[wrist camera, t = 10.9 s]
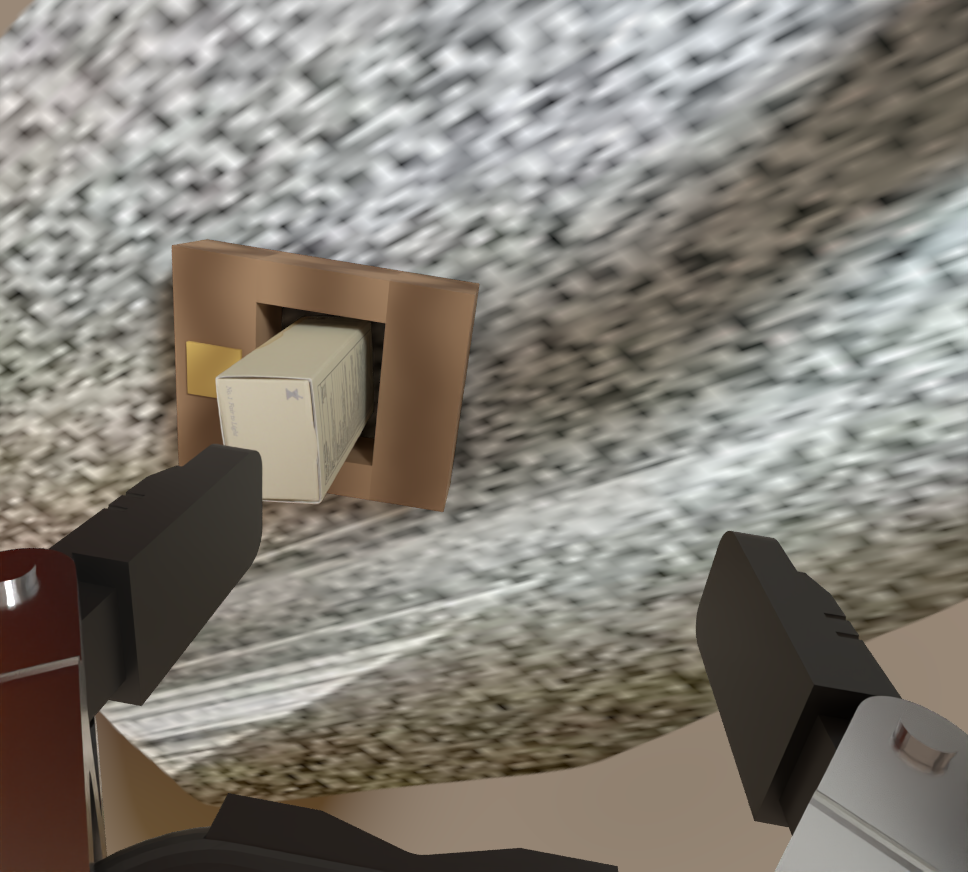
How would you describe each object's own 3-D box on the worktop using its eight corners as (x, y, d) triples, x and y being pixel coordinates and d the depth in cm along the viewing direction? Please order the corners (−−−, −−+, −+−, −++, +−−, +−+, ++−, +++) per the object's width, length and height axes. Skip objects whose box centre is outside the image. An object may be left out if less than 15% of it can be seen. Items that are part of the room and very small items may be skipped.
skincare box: (302, 314, 38) (208, 368, 27) (375, 317, 38) (312, 373, 27) (309, 413, 40) (226, 501, 29) (378, 416, 40) (321, 506, 29)
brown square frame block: (479, 283, 37) (474, 295, 33) (450, 482, 42) (442, 513, 38) (207, 239, 37) (169, 245, 33) (209, 443, 42) (177, 470, 38)
